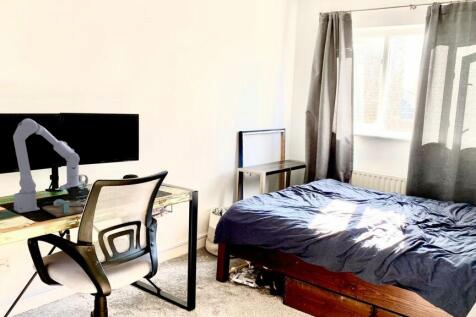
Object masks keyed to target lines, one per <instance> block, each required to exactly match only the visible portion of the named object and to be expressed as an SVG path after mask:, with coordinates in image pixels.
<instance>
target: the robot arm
mask: <svg viewBox="0 0 476 317" xmlns="http://www.w3.org/2000/svg"><path fill="white" fill-rule="evenodd" d="M33 134H36V135H40V136H42V137H43V138H44V139H45V140H47V142H49V143H50V144H51V145H53V150H54V151H55V152H57V154H59V155H60V157H62V158H63V159H65V161H66V183H65V184H63V185H59V190H60V191H65V190H66V193H68V196H69V199H70V201H77V197H78V195H79V194H78V192H79V190H80V187H83V185H85V180H82V181H81V182H79V175H80V170H79V168H80V166H79V162H80V159H81V158H80V156H79V154H78V153H76V152H75V149H73V148H71V147H70V146H69V145H68V143H67V142H66V141H63V140H58V139H57V138H56V137H55V136H53V134H51V132H50V131H48V130H47V129H46V128H45V127H44V126H42V125H40V124H39V123H37V122H36V121H35V120H33V119H31V118H24V119H23V120H21V122H19V123H18V124H17V127H16V129H15V132H14V133H13V135H12V137H13V138H12V139H13V143H14V144H13V145H14V148H15V155H16V158H17V165H18V169H19V177H20V180H19V186H20V190H19V192H17V193H14V195H13V210H14V211H15V212H17V213H19V214H21V213H27V212H32V211H39V210H41V208H40V207H38V206H37V190H36V188H37V184H36V182H35V181H34V179H33V176H32V172H31V167H30V161H29V157H28V151H27V150H28V149H27V146H26V145H27V144H26V140H27V138H28V137H29V136H31V135H33ZM78 186H79V187H78Z"/></svg>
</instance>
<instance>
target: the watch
mask: <svg viewBox="0 0 476 317" xmlns="http://www.w3.org/2000/svg"><path fill="white" fill-rule="evenodd" d="M83 177H84V179H85V180H84V181H85V185H82V186H78V187H80V190H79V192H78V195H79V196H80V195H81V196H85V195H88V194H89V188H88V187H87V186H88V185H89V184H88V183H89V177H88V176H87V175H86V174H82V173H79V182H81V181H83Z"/></svg>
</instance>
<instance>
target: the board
mask: <svg viewBox="0 0 476 317" xmlns="http://www.w3.org/2000/svg"><path fill="white" fill-rule="evenodd" d="M80 201H82V199H80ZM83 207H84V206H69V212H68V213H63V212H62V206H54V204H53V205H52V204H51V205H47V206H42V207H41V208H42V210H44V211H45V212H47V213H50V214H51V215H53V216H54V217H56V218H58V217H65V216H69V215H74V214H81V213H83V212H82V211H83Z"/></svg>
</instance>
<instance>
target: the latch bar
mask: <svg viewBox="0 0 476 317" xmlns="http://www.w3.org/2000/svg"><path fill="white" fill-rule="evenodd" d="M81 200H82V201H81ZM81 200H76V201H71V200H65V201H66V202H68V203H69V206H84V205H85V202H86V201H87V199H86V198H82V199H81ZM53 205H54V206H62V205H60V204H58V203H56V200H54V201H53Z"/></svg>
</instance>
